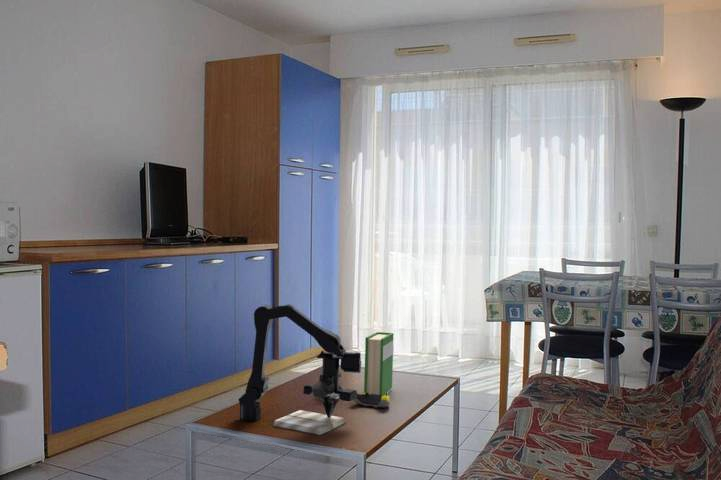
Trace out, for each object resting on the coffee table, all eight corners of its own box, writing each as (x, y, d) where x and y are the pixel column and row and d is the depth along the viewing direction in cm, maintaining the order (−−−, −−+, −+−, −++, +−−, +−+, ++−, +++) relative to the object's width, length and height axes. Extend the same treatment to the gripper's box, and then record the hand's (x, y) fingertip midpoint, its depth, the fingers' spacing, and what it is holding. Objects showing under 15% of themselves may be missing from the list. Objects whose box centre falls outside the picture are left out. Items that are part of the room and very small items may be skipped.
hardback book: (381, 398, 262) (383, 338, 262) (363, 397, 264) (365, 337, 264) (391, 389, 279) (393, 333, 279) (375, 388, 281) (376, 332, 281)
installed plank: (274, 425, 218) (274, 420, 218) (287, 420, 225) (287, 415, 225) (320, 434, 210) (320, 429, 210) (332, 429, 216) (332, 423, 216)
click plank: (288, 420, 225) (288, 414, 225) (299, 415, 231) (299, 410, 231) (333, 428, 217) (333, 423, 217) (343, 423, 223) (343, 417, 223)
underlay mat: (272, 427, 218) (272, 425, 218) (300, 416, 233) (300, 414, 233) (320, 437, 209) (320, 435, 209) (347, 424, 224) (347, 423, 224)
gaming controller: (385, 412, 242) (395, 406, 251) (386, 397, 242) (395, 391, 251) (348, 407, 248) (359, 401, 257) (349, 392, 248) (359, 387, 257)
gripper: (294, 371, 221) (292, 418, 221) (342, 379, 212) (340, 427, 212) (312, 366, 230) (310, 410, 231) (359, 373, 222) (357, 419, 222)
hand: (329, 417), depth 223 cm, fingers closed, pressing on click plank
